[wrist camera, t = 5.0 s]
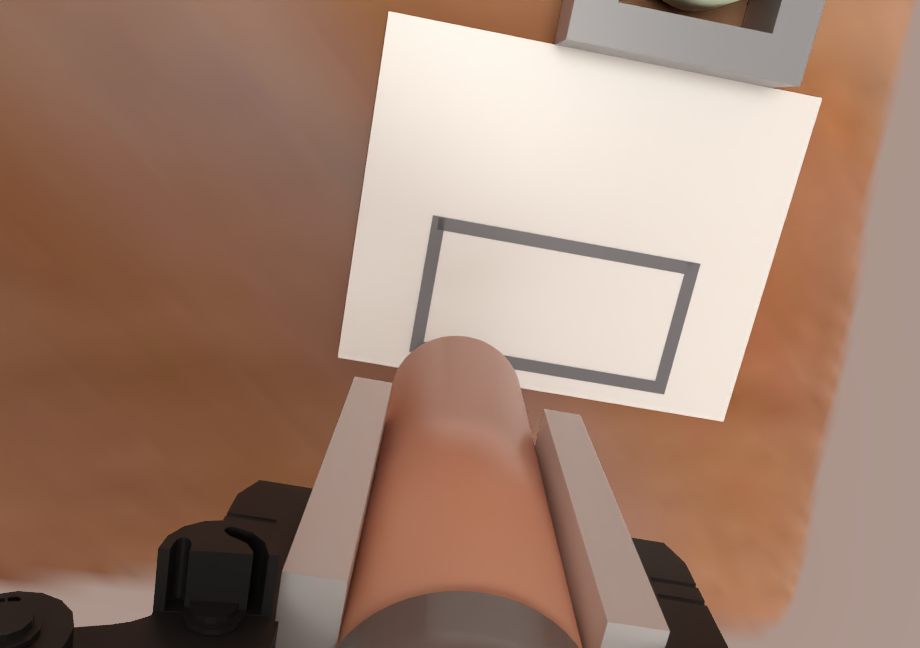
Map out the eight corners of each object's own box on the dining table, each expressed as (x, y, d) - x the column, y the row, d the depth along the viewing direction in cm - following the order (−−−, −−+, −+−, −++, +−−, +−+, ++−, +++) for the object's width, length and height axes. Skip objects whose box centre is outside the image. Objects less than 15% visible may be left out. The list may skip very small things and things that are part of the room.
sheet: (339, 352, 30) (337, 357, 30) (389, 13, 27) (388, 10, 26) (718, 415, 32) (724, 422, 31) (814, 98, 28) (822, 98, 27)
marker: (378, 447, 19) (258, 985, 7) (400, 322, 18) (303, 709, 6) (507, 469, 19) (591, 1028, 7) (536, 347, 18) (679, 764, 7)
